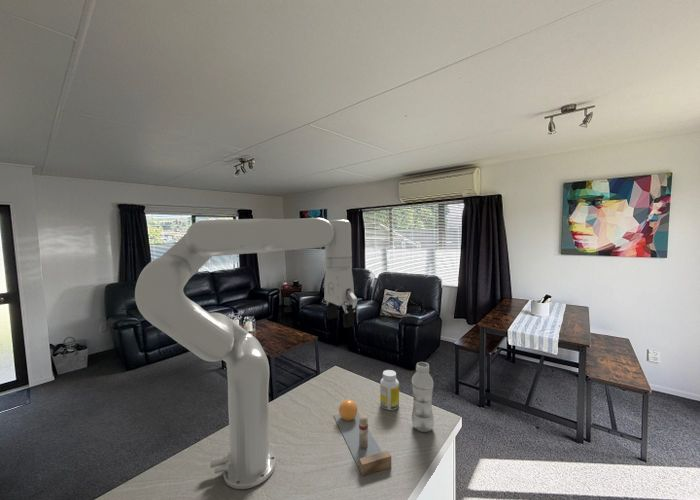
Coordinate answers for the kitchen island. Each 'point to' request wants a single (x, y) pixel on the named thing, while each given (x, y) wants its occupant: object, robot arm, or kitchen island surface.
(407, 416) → the kitchen island surface
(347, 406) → the ball
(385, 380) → the pill bottle
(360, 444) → the pin
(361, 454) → the plate
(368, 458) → the back wall
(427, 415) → the plastic bottle
